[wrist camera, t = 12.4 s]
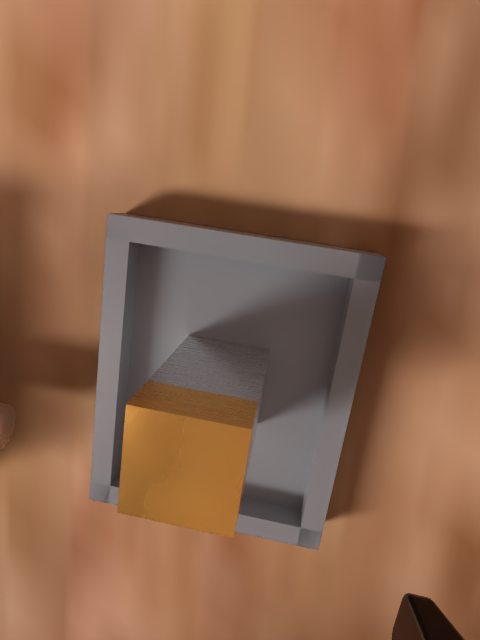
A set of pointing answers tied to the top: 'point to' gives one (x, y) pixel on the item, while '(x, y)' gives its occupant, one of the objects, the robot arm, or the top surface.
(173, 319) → the tray
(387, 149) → the top surface
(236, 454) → the block
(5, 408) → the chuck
